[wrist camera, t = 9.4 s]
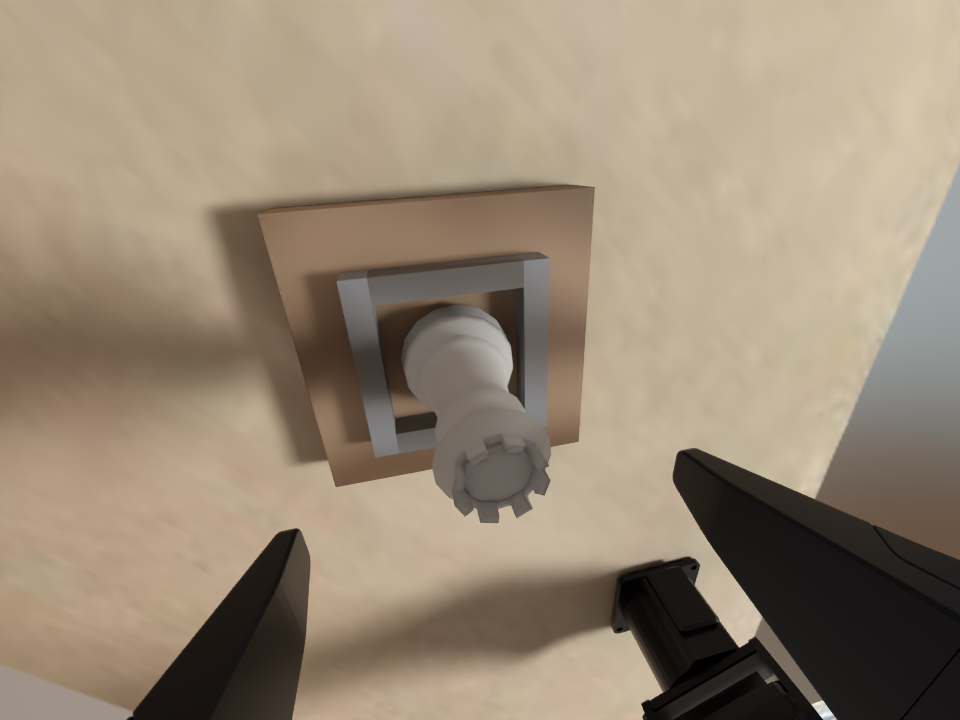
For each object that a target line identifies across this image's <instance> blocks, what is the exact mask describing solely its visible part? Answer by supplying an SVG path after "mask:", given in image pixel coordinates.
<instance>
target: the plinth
mask: <svg viewBox="0 0 960 720" xmlns="http://www.w3.org/2000/svg"><path fill="white" fill-rule="evenodd" d="M594 190H595V187H588V186H579V185H565V186H552V187H539V188H527V189H514V190H501V191H488V192H476V193H463V194H450V195H437V196H425V197H412V198H399V199H386V200H374V201H361V202H348V203H335V204H323V205H310V206H297V207H284V208H272V209H269V210H267V211H264V212H262V213H259V214H257V215H258V219H259V222H260V226H261V229H262V233H263V236H264V240H265V243H266V247H267V250H268V254H269V257H270V261H271V264H272V267H273V271H274V274H275V278H276V281H277V285H278V288H279V292H280V295H281V299H282V302H283V306H284V309H285V313H286V316H287V319H288V323H289V326H290V330H291V333H292V337H293V340H294V344H295V347H296V351H297V354H298V358H299V361H300V365H301V368H302V372H303V375H304V378H305V382H306V385H307V389H308V392H309V396H310V399H311V403H312V406H313V410H314V413H315V417H316V420H317V424H318V427H319V430H320V434H321V437H322V441H323V444H324V448H325V451H326V455H327V458H328V462H329V465H330V469H331V472H332V476H333V479H334V482H335V486H336V487H339V486H345V485H350V484H355V483H361V482H366V481H371V480H376V479H382V478H387V477H392V476H398V475H403V474H408V473H414V472H419V471H424V470H430V469H432V463H433V459H434V455H435V451H436V447H437V445H438V444H437V440H436V436H435V427H436V423H437V419H438V418H437V416H436V413H435V412H434V411H432V410H431V409H429V408H427V407H425V406H423V405H422V403H421V402H420V401H419V400H418V399H417V397H416V396H415V395H414V394H413V393H412V391H411V390H410V389H409V388H408V384H407V380H406V377H405V373H404V369H403V365H402V361H401V356H402V350H403V345H404V340H405V338H406V336H407V335H408V333H409V332H410V331H411V329H412V328H413V326H414V325H415V323H416V322H417V321H418V320H420V319H421V318H423V317H424V316H426V315H427V314H429V313H430V312H432V311H434V310H435V309H438V308H443V307H448V306H453V305H464V306H469V307H474V308H480V309H481V310H483V311H484V312H486V313H487V314H489V315H490V316H492V317H493V318H495V319H496V320H497V321H498V323H499V325H500V326H501V328H502V330H503V331H504V333H505V334H506V336H507V340H508V342H509V343H510V345H511V352H512V361H513V370H512V373H511V376H510V380H509V383H508V386H507V387H508V391H509V393H510V394H512V395H514V396H515V397H517V398H518V400H519V401H520V403H521V404H522V406H523V407H524V409H525V413H526V414H528V415H530V416H531V417H533V418H535V419H537V420H538V421H540V423H541V424H542V426H543V427H544V429H545V430H546V432H547V434H548V435H549V437H550V447H552V446H558V445H563V444H568V443H574V442H578V441H579V425H580V409H581V394H582V378H583V362H584V347H585V331H586V315H587V300H588V284H589V268H590V253H591V237H592V221H593V206H594Z"/></svg>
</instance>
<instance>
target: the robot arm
mask: <svg viewBox="0 0 960 720" xmlns="http://www.w3.org/2000/svg"><path fill="white" fill-rule="evenodd" d="M673 482H674V484H675V487H676V488H677V490H678V492H679V493H680V495H681V497H682V498H683V500H684V502H685V503H686V505H687V507H688V509H689V510H690V512H691V514H692V515H693V517H694V519H695V520H696V522H697V524H698V525H699V527H700V529H701V531H702V532H703V534H704V535H705V537H706V539H707V540H708V542H709V543H710V545H711V546H712V547H713V549H714V550H715V552H716V553H717V554H718V556H719V557H720V559H721V560H722V561H723V563H724V564H725V566H726V567H727V568H728V570H729V571H730V572H731V574H732V575H733V577H734V578H735V579H736V581H737V582H738V583H739V585H740V586H741V588H742V589H743V590H744V592H745V593H746V595H747V596H748V597H749V599H750V600H751V601H752V603H753V604H754V606H755V607H756V608H757V610H758V611H759V613H760V614H761V615H762V617H763V618H764V619H765V621H766V622H767V624H768V625H769V626H770V628H771V629H772V630H773V632H774V633H775V635H776V636H777V637H778V639H779V640H780V642H781V643H782V644H783V646H784V647H785V648H786V650H787V651H788V653H789V654H790V655H791V657H792V658H793V659H794V661H795V662H796V664H797V665H798V666H799V668H800V669H801V671H802V672H803V673H804V675H805V676H806V677H807V679H808V680H809V682H810V683H811V684H812V686H813V687H814V689H815V690H816V691H817V693H818V694H819V695H820V697H821V698H822V700H823V701H824V702H825V704H826V705H827V706H828V708H829V709H830V711H831V712H832V713H833V715H834V716H835V718H836V719H837V720H960V560H958V559H956V558H953V557H951V556H948V555H946V554H943V553H941V552H938V551H935V550H933V549H930V548H928V547H926V546H923V545H921V544H918V543H916V542H914V541H911V540H909V539H906V538H904V537H902V536H899V535H897V534H894V533H892V532H890V531H888V530H885V529H883V528H881V527H878V526H876V525H871V524H870V523H869V522H866V521H864V520H862V519H859V518H857V517H855V516H852V515H850V514H847V513H845V512H843V511H841V510H839V509H836V508H834V507H832V506H829V505H827V504H825V503H822V502H820V501H817V500H815V499H813V498H811V497H808V496H806V495H804V494H801V493H799V492H797V491H794V490H792V489H790V488H787V487H785V486H783V485H780V484H778V483H776V482H773V481H771V480H769V479H766V478H764V477H762V476H759V475H757V474H755V473H752V472H750V471H748V470H746V469H743V468H741V467H739V466H736V465H734V464H732V463H729V462H727V461H725V460H722V459H720V458H718V457H715V456H713V455H711V454H708V453H706V452H704V451H701V450H699V449H696V448H691V449H686V450H681V451H679V452H678V454H677V456H676V461H675V466H674V471H673ZM699 567H700V564H699V563H698V562H697V560H696V559H694V558H693V559H688V560H684V561H680V562H676V563H672V564H668V565H664V566H660V567H656V568H652V569H648V570H644V571H640V572H636V573H632V574H628V575H624V576H622V577H621V578H620V579H619V580H618V584H617V591H616V597H615V604H614V611H613V618H612V625H611V627H612V629H613V631H614V633H622V632H625V631H629V630H631V632H632V634H633V636H634V638H635V640H636V642H637V644H638V645H639V647H640V649H641V651H642V653H643V655H644V657H645V659H646V661H647V663H648V664H649V666H650V668H651V670H652V672H653V674H654V676H655V678H656V680H657V681H658V683H659V685H660V687H661V689H662V691H663V693H662V694H660V695H659V696H657V697H655V698H653V699H652V700H650V701H649V700H646V701H645V702H643V703H641V705H642V707H643V710H644V712H645V714H644V715H643V717H642V718H643V720H823V719H822V718H821V716H820V715H819V714H818V713H817V711H816V710H815V709H814V708H813V706H812V705H811V704H810V703H809V701H808V700H807V699H806V698H805V696H804V695H803V694H802V693H801V692H800V690H799V689H798V688H797V687H796V685H795V684H794V683H793V682H792V681H791V679H790V678H789V677H788V676H787V674H786V673H785V672H784V671H783V670H782V669H781V667H780V666H779V665H778V663H777V662H776V661H775V660H774V659H773V657H772V656H771V655H770V654H769V652H768V651H767V650H766V649H765V647H764V646H763V645H762V644H761V643H760V641H759V640H758V639H757V638H756V637H753V638H752V639H750V640H748V641H749V642H748V643H747V644H745V645H743V646H742V647H740V648H739V647H738V645H737V644H736V643H735V641H734V640H733V639H732V637H731V636H730V635H729V633H728V632H727V630H726V629H725V628H724V626H723V625H722V624H721V622H720V621H719V618H718V616H717V615H716V614H715V612H714V611H713V610H712V608H711V607H710V606H709V604H708V603H707V602H706V600H705V599H704V597H703V596H702V595H701V593H700V592H699V591H698V589H697V588H696V587H695V582H696V578H697V575H698V571H699ZM309 579H310V555H309V551H308V549H307V546H306V543H305V540H304V538H303V535H302V532H301V531H300V530H299V529H297V528H295V529H290V530H285V531H281V532H279V533H278V534H276V535H275V537H274V538H273V539H272V540H271V542H270V543H269V544H268V545H267V546H266V548H265V549H264V550H263V551H262V553H261V554H260V555H259V556H258V558H257V559H256V560H255V561H254V563H253V564H252V565H251V566H250V568H249V569H248V570H247V571H246V572H245V574H244V575H243V576H242V577H241V579H240V580H239V581H238V582H237V584H236V585H235V586H234V587H233V589H232V590H231V591H230V592H229V594H228V595H227V596H226V597H225V599H224V600H223V601H222V602H221V603H220V605H219V606H218V607H217V608H216V610H215V611H214V612H213V613H212V615H211V616H210V617H209V618H208V620H207V621H206V622H205V623H204V625H203V626H202V627H201V628H200V629H199V631H198V632H197V633H196V634H195V636H194V637H193V638H192V639H191V641H190V642H189V643H188V644H187V646H186V647H185V648H184V649H183V651H182V652H181V653H180V654H179V655H178V657H177V658H176V659H175V660H174V662H173V663H172V664H171V665H170V667H169V668H168V669H167V670H166V672H165V673H164V674H163V675H162V677H161V678H160V679H159V680H158V681H157V683H156V684H155V685H154V686H153V688H152V689H151V690H150V691H149V693H148V694H147V695H146V696H145V698H144V699H143V700H142V701H141V703H140V704H139V705H138V706H137V707H136V709H135V710H134V711H133V717H129V718H128V719H127V720H292V716H293V710H294V704H295V699H296V693H297V687H298V681H299V675H300V670H301V664H302V658H303V652H304V645H305V638H306V625H307V610H308V594H309ZM771 676H772V677H773V679H774V680H775V682H771V683H769V684H767V683H766V682H765V681H764V680H766V679H768V678H769V677H771Z"/></svg>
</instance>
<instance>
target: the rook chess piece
mask: <svg viewBox="0 0 960 720" xmlns="http://www.w3.org/2000/svg"><path fill="white" fill-rule="evenodd" d="M401 361H402V365H403V369H404V373H405V377H406V380H407V384H408V388H409V389H410V390H411V391H412V393H413V394H414V395H415V396H416V397H417V399H418V400H419V401H420V402H421V403H422V405H423V406H425V407H427V408H429V409H431V410H432V411H434V412H435V413H436V416H437V418H438V419H437V423H436V427H435V436H436V440H437V444H438V445H437V447H436V451H435V455H434V459H433V463H432V469H433V473H434V477H435V481H436V484H437V485H438V486H439V487H440V489H441V490H442V491H443V492H444V493H445V494H446V495H447V496H448V497H449V498H451V499H453V500H454V504H455V506H456V507H457V508H458V510H459V511H460V512H461V513H462V514H463V515H464V516H467V515H468V514H469V513H470V512H471V511H473V508H476V509H477V511H478V515H479V519H480V523H498V522H499V513H498V509H499V508H503V507H506V506H510V505H511V506H512V509H513V511H514V514H515V516H516V518H518V517H519V516H521V515H523V514H524V513H526V512H528V511H529V510H531V509H533V508H532V506H531V504H530V501H529V499H528V496H527V495H528V494H529V493H530V492H531V491H532V490H534V492H535V493H536V494H540V495H545V493H546V490H547V488H548V485H549V483H550V479H549V477H548V475H547V473H546V471H545V469H546V467H548V466H549V465H548V461H549V458H550V456H551V450H550V437H549V435H548V434H547V432H546V430H545V429H544V427H543V426H542V424H541V423H540V421H538V420H537V419H535V418H533V417H531V416H530V415H528V414H526V413H525V409H524V407H523V406H522V404H521V403H520V401H519V400H518V398H517V397H515V396H514V395H512V394H510V393H509V391H508V387H507V386H508V383H509V380H510V376H511V373H512V370H513V361H512V352H511V345H510V343H509V342H508V340H507V336H506V334H505V333H504V331H503V330H502V328H501V326H500V325H499V323H498V321H497V320H496V319H495V318H493V317H492V316H490V315H489V314H487V313H486V312H484V311H483V310H481V309H480V308H474V307H469V306H464V305H453V306H448V307H443V308H438V309H435V310H434V311H432V312H430V313H429V314H427V315H426V316H424V317H423V318H421V319H420V320H418V321H417V322H416V323H415V325H414V326H413V328H412V329H411V331H410V332H409V333H408V335H407V336H406V338H405V340H404V345H403V350H402V356H401Z"/></svg>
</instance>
